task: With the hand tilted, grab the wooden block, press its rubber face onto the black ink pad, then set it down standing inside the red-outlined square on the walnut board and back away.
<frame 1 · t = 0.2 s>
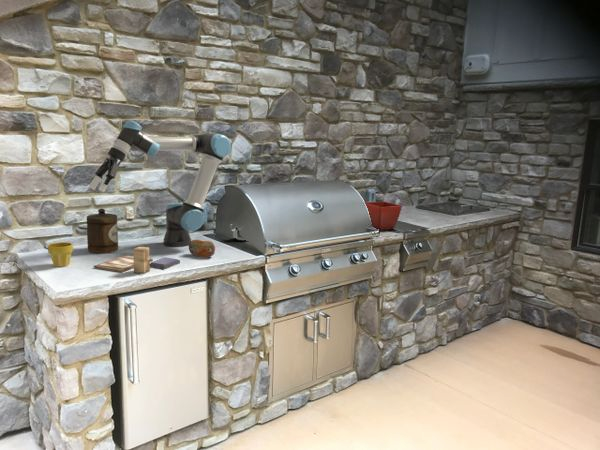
hand: (96, 189, 227), 35 cm above the countertop, tool tilted 35°, fingers open, 13 cm apart
wooden container: (103, 250, 256), on the countertop
brown oval lump: (202, 256, 251), on the countertop
wooden block: (141, 271, 221), on the countertop
ink pad: (164, 264, 234), on the countertop
plant pot 2: (380, 228, 337), on the countertop
print board: (124, 264, 232), on the countertop
plant pot: (61, 265, 228), on the countertop
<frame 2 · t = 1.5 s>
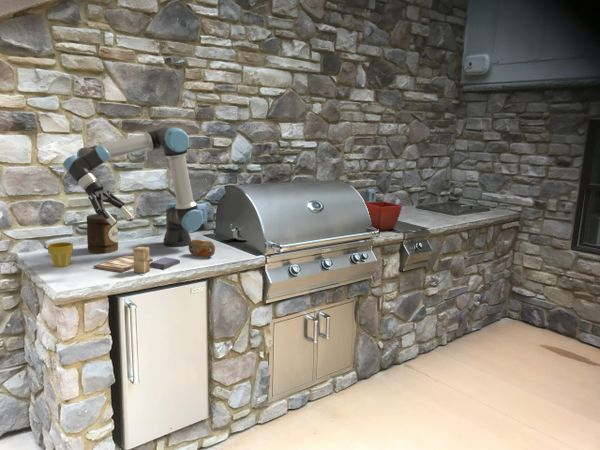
hand: (122, 220, 222), 22 cm above the countertop, tool tilted 45°, fingers open, 13 cm apart
nothing on the countertop moved.
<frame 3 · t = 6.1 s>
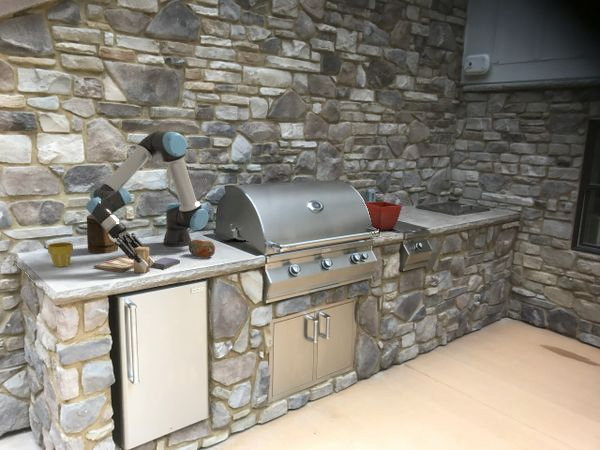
hand: (149, 265, 220), 3 cm above the countertop, tool tilted 45°, fingers closed on wooden block, 5 cm apart
wooden block: (141, 271, 221), on the countertop, touching gripper
everything else where it was.
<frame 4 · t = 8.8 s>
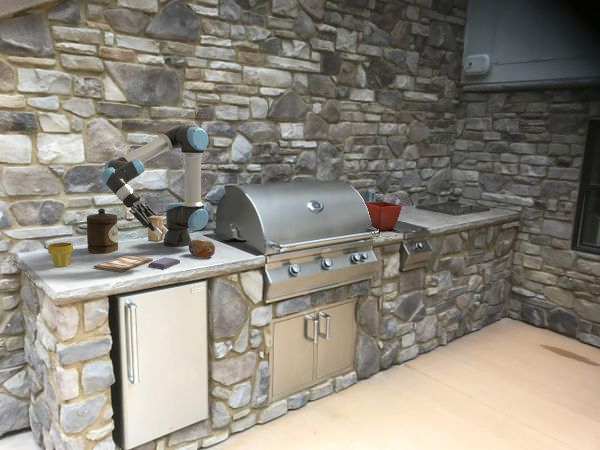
hand: (163, 233, 225), 16 cm above the countertop, tool tilted 45°, fingers closed on wooden block, 5 cm apart
wooden block: (155, 240, 227), point 13 cm above the countertop, touching gripper
everything else where it was.
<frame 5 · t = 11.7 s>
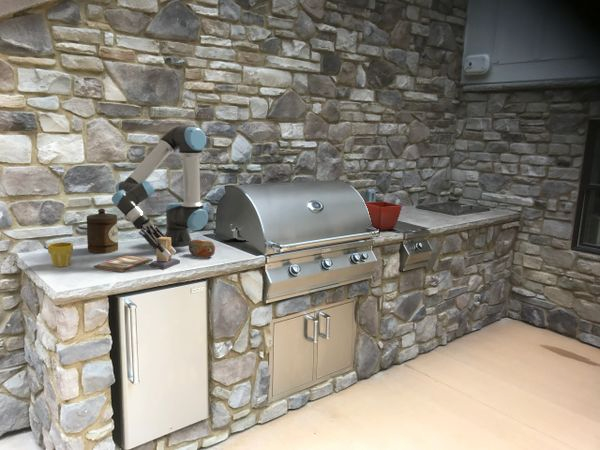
hand: (171, 254, 232), 5 cm above the countertop, tool tilted 45°, fingers closed on wooden block, 5 cm apart
wooden block: (164, 260, 233), point 2 cm above the countertop, touching gripper, ink pad
everything else where it was.
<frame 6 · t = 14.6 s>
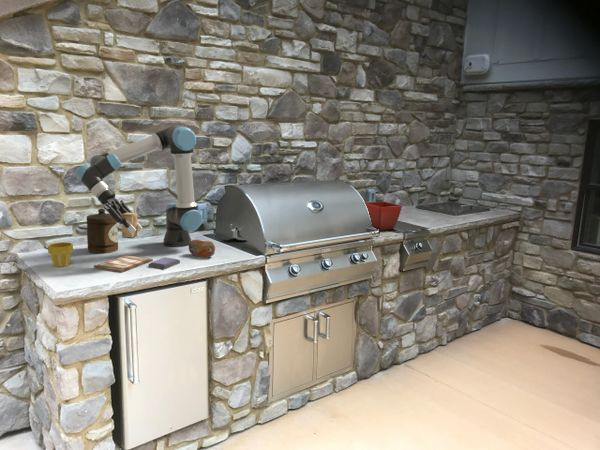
hand: (137, 230, 228), 17 cm above the countertop, tool tilted 45°, fingers closed on wooden block, 5 cm apart
wooden block: (129, 236, 229), point 13 cm above the countertop, touching gripper
everything else where it was.
when the fingers open (6 cm above the countertop, at t = 17.3 s): wooden block drops 1 cm, resting on print board.
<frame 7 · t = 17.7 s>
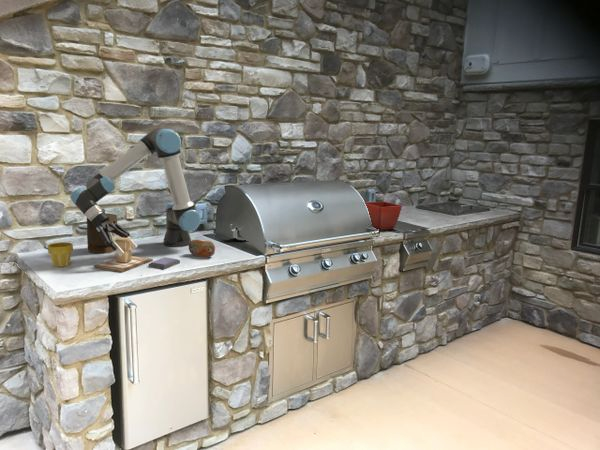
hand: (129, 251, 230), 7 cm above the countertop, tool tilted 45°, fingers open, 11 cm apart
wooden block: (123, 261, 232), point 1 cm above the countertop, touching print board
everything else where it was.
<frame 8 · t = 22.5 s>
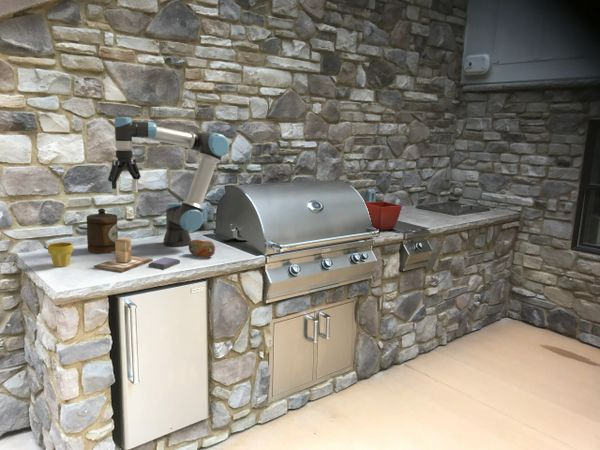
hand: (125, 194, 238), 32 cm above the countertop, tool pointing down, fingers open, 13 cm apart
nothing on the countertop moved.
at the end: wooden block 0.1 cm off-centre on the print board, point 1.3 cm above the print board's base; wooden block tilted 0°; the gripper is holding nothing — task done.
